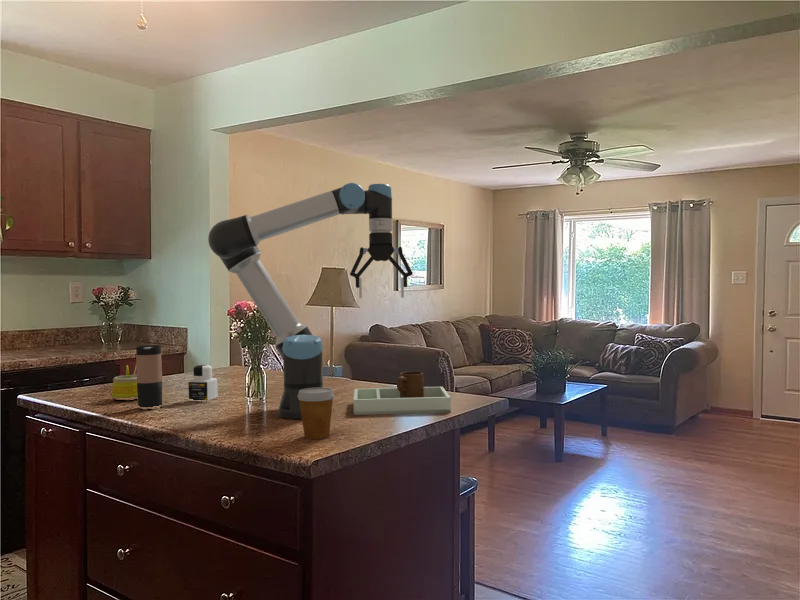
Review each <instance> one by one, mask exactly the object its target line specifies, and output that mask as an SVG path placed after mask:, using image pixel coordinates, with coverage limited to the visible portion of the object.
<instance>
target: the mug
mask: <svg viewBox="0 0 800 600" xmlns="http://www.w3.org/2000/svg"><path fill="white" fill-rule="evenodd" d="M424 379H425V377H424V373H423V372H421V371H403V372H400V373H399V377H398V378H397V381H396V388H397V389H398V391H400V398H422V397H424V387H425V385H424V384H425V382H424V381H425V380H424Z"/></svg>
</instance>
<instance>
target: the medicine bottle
mask: <svg viewBox="0 0 800 600" xmlns="http://www.w3.org/2000/svg"><path fill="white" fill-rule="evenodd" d="M218 390H219V389H218V378H215V377H213V367H212V366H211V365H210V364H209V365H208V364H201V365H198V364H197V365H196V366H194V367H193V379H192V380H191V379H190V380H188V400H189V399H193V400H210V399H213V398H216V397H218V396H219V391H218ZM218 398H219V397H218Z"/></svg>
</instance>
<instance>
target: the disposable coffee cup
mask: <svg viewBox="0 0 800 600" xmlns="http://www.w3.org/2000/svg"><path fill="white" fill-rule="evenodd" d="M335 396H336V395H335V393H334V390H333V388H330V387H323V388H306V389H301V390H299V394H298V395H297V397H298V399H299V402H300V409H301V416H302V419H301V421H302V426H303V435H304V439H308V440H323V439H327V438H329V437H330V431H331V422H332V421H331V420H332V411H333V401H334V397H335Z"/></svg>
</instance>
